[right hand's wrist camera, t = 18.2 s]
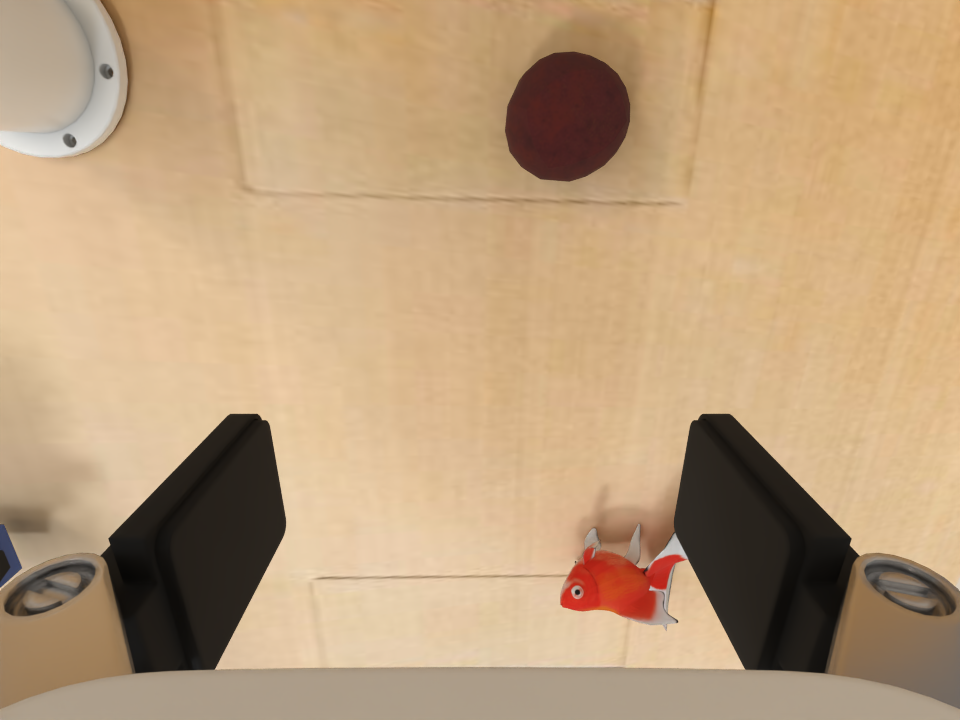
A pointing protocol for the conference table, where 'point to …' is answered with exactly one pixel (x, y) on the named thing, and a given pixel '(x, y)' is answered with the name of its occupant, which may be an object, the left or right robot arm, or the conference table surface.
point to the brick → (8, 555)
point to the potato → (567, 116)
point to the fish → (623, 581)
